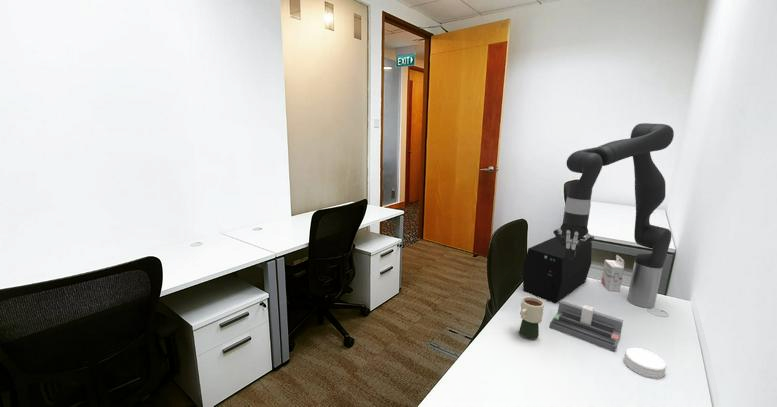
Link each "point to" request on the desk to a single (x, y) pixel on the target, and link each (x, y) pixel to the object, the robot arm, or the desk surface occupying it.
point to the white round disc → (645, 362)
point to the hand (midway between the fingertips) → (569, 258)
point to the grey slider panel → (588, 326)
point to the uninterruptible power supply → (555, 270)
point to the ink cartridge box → (613, 274)
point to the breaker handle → (587, 314)
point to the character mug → (531, 316)
